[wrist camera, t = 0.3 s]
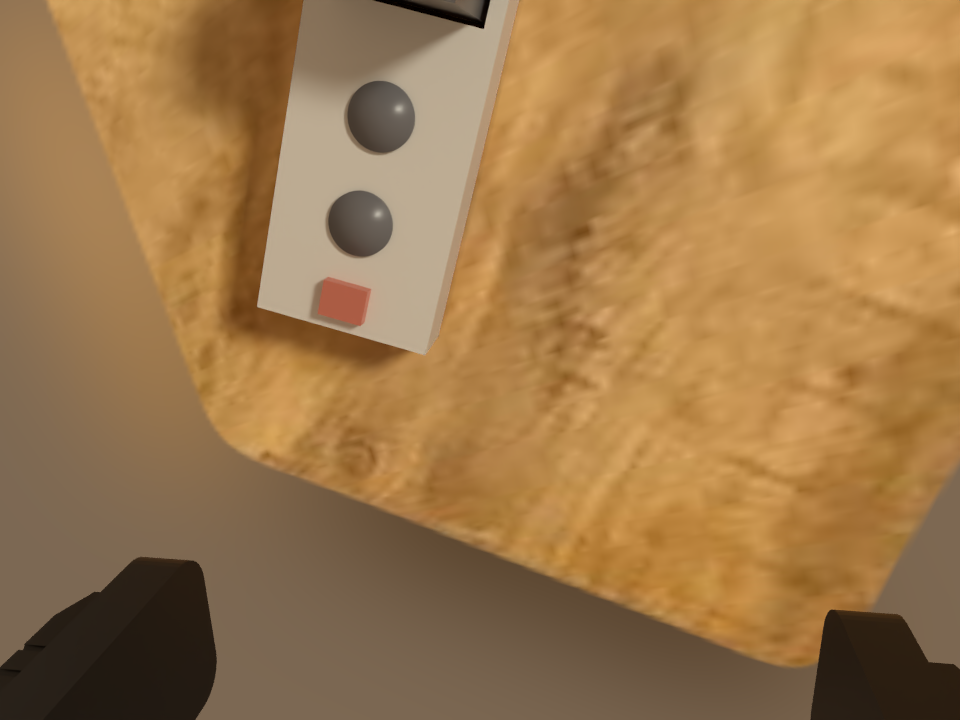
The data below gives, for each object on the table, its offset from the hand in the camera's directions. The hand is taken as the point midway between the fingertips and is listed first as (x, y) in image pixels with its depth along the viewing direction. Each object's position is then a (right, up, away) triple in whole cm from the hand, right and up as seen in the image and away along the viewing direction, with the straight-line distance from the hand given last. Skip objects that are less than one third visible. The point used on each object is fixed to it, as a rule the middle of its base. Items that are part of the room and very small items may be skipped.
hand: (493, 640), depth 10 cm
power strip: (-3, +16, +24) cm, 29 cm away
